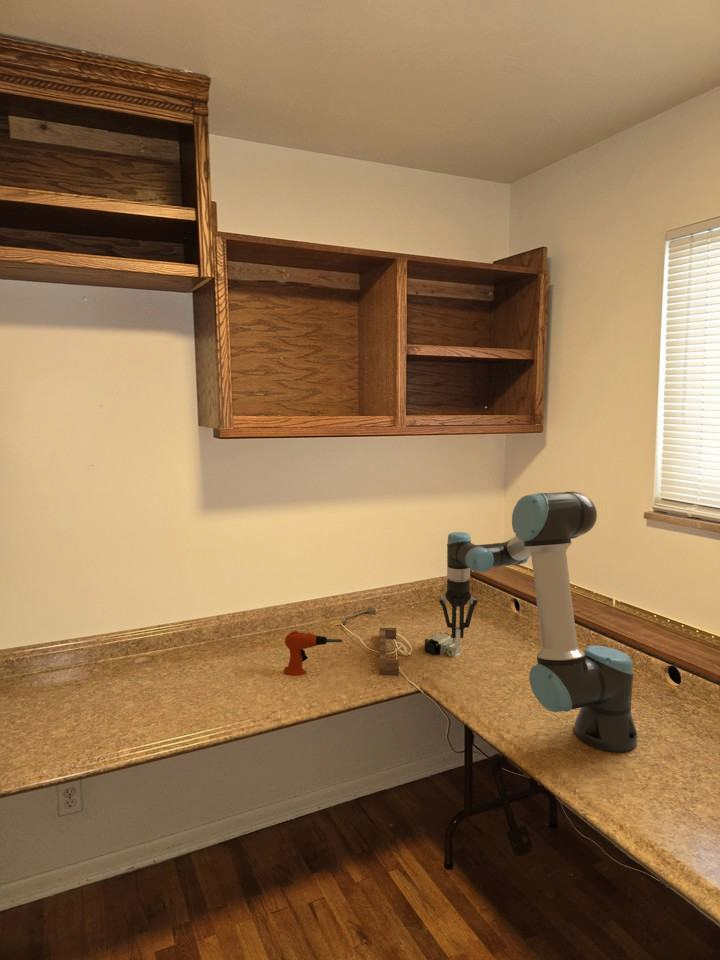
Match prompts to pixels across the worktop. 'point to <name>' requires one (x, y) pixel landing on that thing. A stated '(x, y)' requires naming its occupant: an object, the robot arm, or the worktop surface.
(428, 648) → the pneumatic valve
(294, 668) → the toy drill
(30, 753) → the worktop surface
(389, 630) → the stop
